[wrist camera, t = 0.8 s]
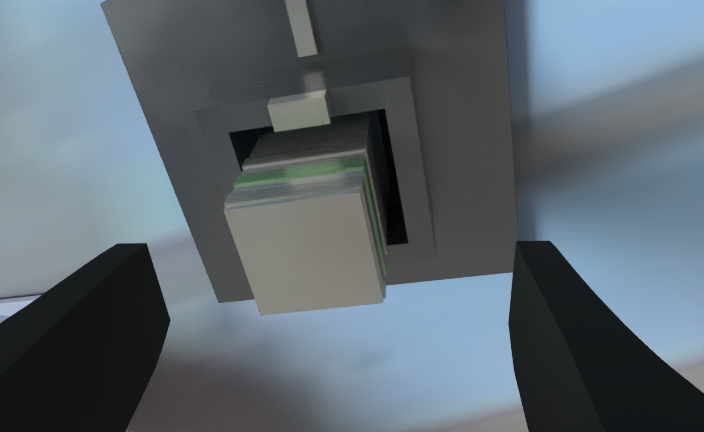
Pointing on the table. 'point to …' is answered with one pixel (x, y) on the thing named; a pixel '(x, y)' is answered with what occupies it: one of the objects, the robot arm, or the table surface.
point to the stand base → (334, 113)
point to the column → (314, 216)
